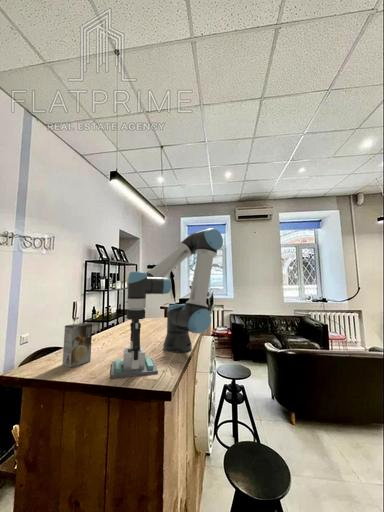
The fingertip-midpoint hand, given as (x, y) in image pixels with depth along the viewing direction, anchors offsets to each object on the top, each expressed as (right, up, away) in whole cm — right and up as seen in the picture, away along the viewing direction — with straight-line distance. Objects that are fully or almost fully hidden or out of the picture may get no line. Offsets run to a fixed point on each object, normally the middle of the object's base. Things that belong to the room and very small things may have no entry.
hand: (134, 362), depth 93 cm
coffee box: (-26, -3, +5) cm, 27 cm away
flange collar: (0, -1, 0) cm, 1 cm away
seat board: (0, -2, 0) cm, 2 cm away
